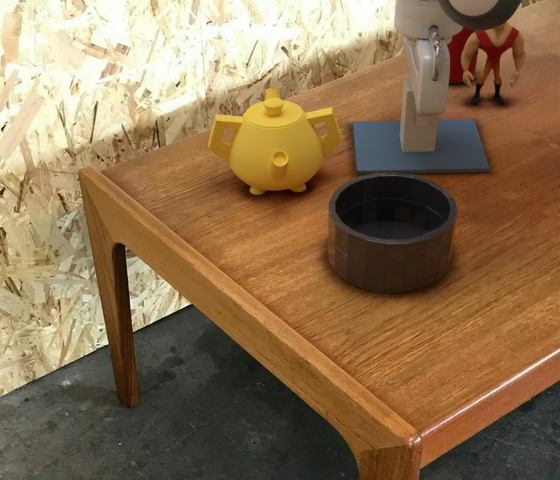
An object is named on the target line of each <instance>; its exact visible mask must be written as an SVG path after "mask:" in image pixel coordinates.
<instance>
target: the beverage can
mask: <svg viewBox="0 0 560 480" xmlns="http://www.w3.org/2000/svg"><path fill="white" fill-rule="evenodd" d="M475 31H476V30H471V29H468V28H465V27H463V29H462V30H461V31H460V32H459V33H458V34H456V35H453V36H452V41H451V42H450V43H449V44H448V45H447V47H448V50H449V55H450V73H449V84H459V83H464V81H463V73H464V70H463V67H462V64H461V56H462V52H463V50H464V47H465V44H466V42H467V40H468V38H469V37H470V36H471V34H472V33H474V32H475ZM479 50H480V49H479V48H478V49H477V50H476V51H475V52H474V55H473V56H472V59H471V62H470V65H469V68H468V71H469V72H470V73H471V74H472V75H473V76H474V75H475V73H476V70H477V69H476V67H477V62H478V55H479Z"/></svg>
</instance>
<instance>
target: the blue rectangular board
mask: <svg viewBox="0 0 560 480" xmlns="http://www.w3.org/2000/svg"><path fill="white" fill-rule="evenodd" d="M400 126H401V119H399V120H364V121H363V120H362V121H361V120H359V121H358V120H357V121H352V133H353V144H354V156H355V158H354V159H355V169H356V175H369V174H374V173H391V172H399V173H406V174H449V173H450V174H451V173H490V165H489V162H488V158H487V155H486V153H485V149H484V146H483V143H482V140H481V136H480V133H479V130H478V127H477V123H476V120H475V118H452V119H451V118H448V119H446V118H445V119H438V124H437V133H436V142H435V151H430V152H402V147H401V141H400Z"/></svg>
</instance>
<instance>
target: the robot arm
mask: <svg viewBox="0 0 560 480" xmlns="http://www.w3.org/2000/svg"><path fill="white" fill-rule="evenodd" d="M522 2H523V0H395V6H394V19H393V26H394V28H395V30H396V31H397V32H399V33H400V34H402V45H403V53H404V57H405V63H406V67H407V71H408V76H409V77H410V82H411V86H412V91H413V96H414V101H415V106H416V118H415V121H416V126H417V127H419V128H421V127H428V126H429V124H430V116H431V115H438V116H441V115H443V114H445V112H446V109H447V105H448V97H449V96H448V95H449V84H450V83H449V73H450V55H449V50H448V47H447V45H448V44H449V43H450V42H451V41H452V36H453V35H456V34H458V33H459V32H460V31H461V30H462V29H463V27H465V28H468V29H471V30H479V31H482V30H490V29H493V28H496V27H498V26H500V25H502V24H504V23H505V22H508V21H509V20H510V19H511V18H512V17H513V16H514V15H515V13H516V11H517V10H518V9H519V7H520V5H521V4H522Z"/></svg>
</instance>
